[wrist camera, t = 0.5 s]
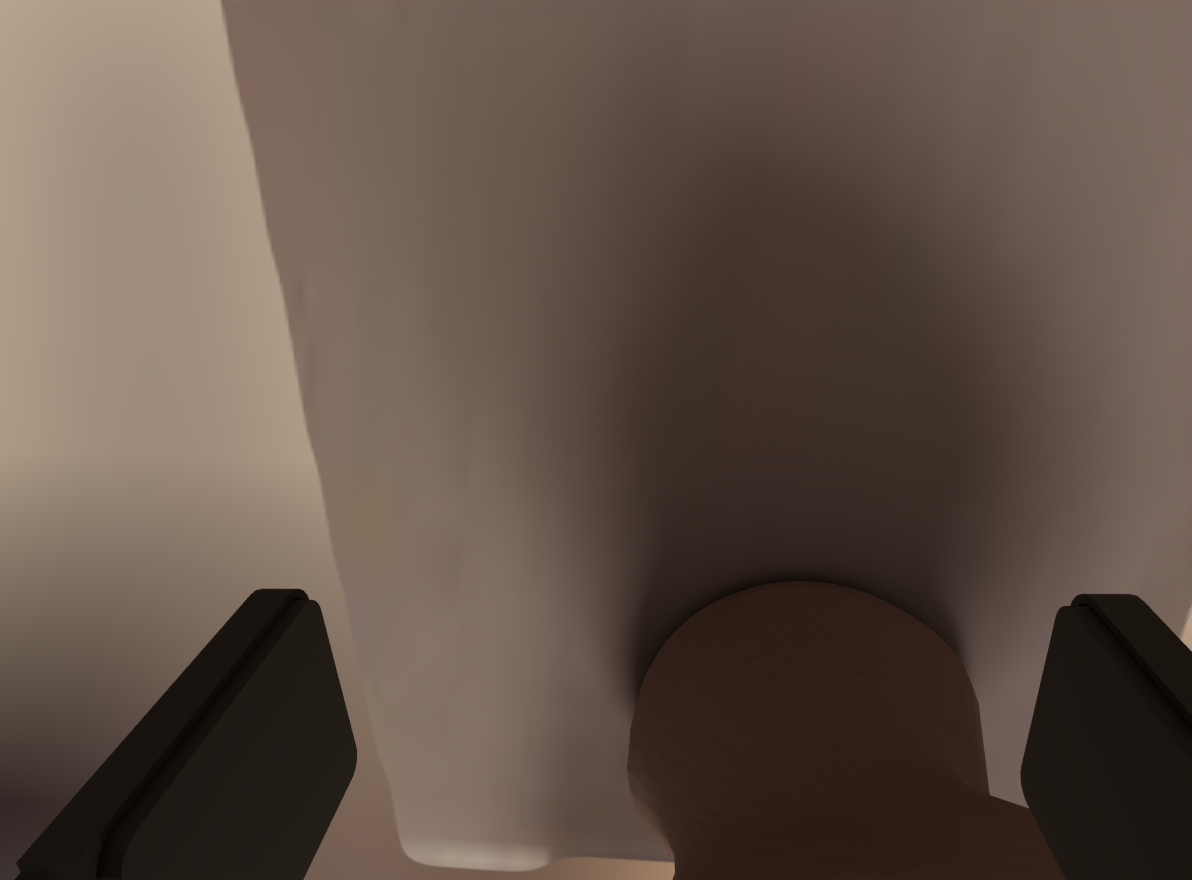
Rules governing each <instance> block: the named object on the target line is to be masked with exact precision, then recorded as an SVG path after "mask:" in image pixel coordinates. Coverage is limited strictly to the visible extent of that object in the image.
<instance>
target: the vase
mask: <svg viewBox="0 0 1192 880" xmlns="http://www.w3.org/2000/svg"><path fill="white" fill-rule="evenodd" d="M627 770H628V778H629V786H630V791H631V794H632V797H633V801H634V804H635V807H636V810H637V813H638V815H639V817H640V818H641V820H642V821H643V823H644V825H645V826H646V828H647V830H648V831H649V833H650V834H651V835H652V836H653V838H654V839H655V840H656V841H657V842H658V843H659V844H660V845H661V847H662V848H663V849H664V850H665V851H666V852H667V853H668V854H669V855H670V856H671V857H672V858H673V859H674V860H675V874H674V877H673V880H1066V879H1065V877H1064V875H1063V874H1062V872H1061V870H1060V868H1059V866H1058V864H1057V862H1056V860H1055V858H1054V856H1053V854H1052V852H1051V850H1050V848H1049V846H1048V844H1047V842H1046V840H1045V838H1044V836H1043V834H1042V832H1041V830H1040V828H1039V826H1038V824H1037V822H1036V820H1035V818H1034V816H1033V814H1032V812H1031V810H1030V809H1029V808H1026V807H1023V806H1020V805H1017V804H1014V803H1011V802H1008V801H1005V800H1002V799H999V798H996V797H993V796H990V794H989V786H988V778H987V770H986V761H985V753H984V745H983V737H982V728H981V720H980V712H979V704H978V701H977V698H976V695H975V692H974V689H973V686H972V683H971V681H970V679H969V677H968V675H967V673H966V670H965V668H964V666H963V665H962V663H961V661H960V660H959V658H958V657H957V655H956V654H955V652H954V651H953V650H952V649H951V648H950V647H949V646H948V645H947V644H946V643H945V642H944V641H943V640H942V639H941V637H940V636H939V635H937V634H936V633H935V632H934V631H932V630H931V629H930V628H929V627H927V626H926V625H925V624H923V623H922V622H921V621H919V620H918V619H916V618H915V617H913V616H912V615H910V614H908V613H907V612H905V611H904V610H902V609H900V608H898V607H896V606H894V605H892V604H890V603H888V602H887V601H885V600H882V599H880V598H878V597H875V596H873V595H871V594H869V593H866V592H863V591H860V590H856V589H853V588H849V587H845V586H842V585H837V584H831V583H825V582H816V581H785V582H777V583H769V584H763V585H759V586H755V587H752V588H749V589H746V590H743V591H740V592H737V593H734V594H732V595H729V596H726V597H724V598H722V599H720V600H718V601H716V602H713V603H711V604H709V605H708V606H706V607H705V608H703V609H702V610H700V611H699V612H697V613H696V614H694V615H693V616H692V617H691V618H689V619H688V620H687V621H686V622H685V623H684V624H683V625H682V626H681V627H679V628H678V629H677V630H676V631H675V632H674V633H673V635H672V636H671V637H670V638H669V639H668V640H667V641H666V642H665V643H664V645H663V646H662V648H661V649H660V651H659V652H658V654H657V656H656V657H655V659H654V661H653V663H652V664H651V666H650V668H649V670H648V671H647V673H646V675H645V677H644V680H643V684H642V687H641V690H640V694H639V697H638V700H637V704H636V708H635V713H634V717H633V721H632V725H631V729H630V745H629V755H628V765H627Z"/></svg>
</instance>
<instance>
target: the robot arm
mask: <svg viewBox="0 0 1192 880" xmlns="http://www.w3.org/2000/svg"><path fill="white" fill-rule="evenodd" d="M356 762H357V749H356V744H355V740H354V736H353V732H352V729H351V724H350V720H349V717H348V713H347V709H346V705H345V701H344V697H343V693H342V689H341V685H340V682H339V678H338V674H337V670H336V666H335V662H334V658H333V654H332V650H331V647H330V643H329V639H328V635H327V631H326V627H325V623H324V620H323V615H322V612H321V608H320V606H319V604H318V603H317V602H316V601H314V600H309V598H308V595H307V594H306V593H305V592H304V591H303V590H300V589H259V590H256V591H255V592H253V593H252V594H251V595H250V596H249V597H248V598H247V599H246V601H245V602H244V603H243V604H242V605H241V606H240V607H239V609H238V610H237V611H236V612H235V613H234V614H233V615H232V617H231V618H230V619H229V620H228V621H227V622H226V623H225V625H224V626H223V627H222V628H221V629H220V630H219V632H218V633H217V634H216V635H215V636H214V637H213V638H212V640H211V641H210V642H209V643H208V644H207V645H206V646H205V648H204V649H203V650H202V651H201V652H200V653H199V654H198V656H197V657H196V658H195V659H194V660H193V661H192V662H191V664H190V665H189V666H188V667H187V668H186V669H185V670H184V671H183V673H182V674H181V675H180V676H179V677H178V678H177V680H176V681H175V682H174V683H173V684H172V685H171V686H170V687H169V689H168V690H167V691H166V692H165V693H164V695H163V696H162V697H161V698H160V699H159V700H158V701H157V703H156V704H155V705H154V706H153V707H152V708H151V709H150V710H149V712H148V713H147V714H146V715H145V716H144V717H143V719H142V720H141V721H140V722H139V723H138V724H137V725H136V726H135V728H134V729H133V730H132V731H131V732H130V733H129V735H128V736H127V737H126V738H125V739H124V740H123V741H122V742H121V744H120V745H119V746H118V747H117V748H116V749H115V750H114V752H113V753H112V754H111V755H110V756H109V757H108V758H107V760H106V761H105V762H104V763H103V764H102V765H101V766H100V768H99V769H98V770H97V771H96V772H95V773H94V775H93V776H92V777H91V778H90V779H89V780H88V781H87V783H86V784H85V785H84V786H83V787H82V788H81V789H80V790H79V792H78V793H77V794H76V795H75V796H74V797H73V798H72V800H71V801H70V802H69V803H68V804H67V806H65V808H64V809H63V810H62V811H61V812H60V813H59V815H58V816H57V817H56V818H55V819H54V820H53V822H52V823H51V824H50V825H49V826H48V827H47V829H45V831H44V832H43V833H42V834H41V835H40V836H39V837H38V839H37V840H36V841H35V842H34V843H33V844H32V845H31V847H30V848H29V849H28V850H27V851H26V852H25V854H24V855H23V856H22V857H21V858H20V859H19V860H18V861H17V863H16V864H17V865H18V867H19V869H20V871H21V873H20V874H19V875H18V876H17V877H16V879H15V880H303V879H304V877H305V875H306V873H307V870H308V869H309V867H310V864H311V862H312V860H313V858H314V856H315V854H316V852H317V850H318V848H319V846H320V844H321V842H322V839H323V837H324V835H325V833H326V831H327V829H328V827H329V825H330V823H331V821H332V819H333V817H334V815H335V813H336V811H337V808H338V806H339V804H340V802H341V800H342V798H343V796H344V794H345V792H346V790H347V788H348V786H349V783H350V781H351V780H352V777H353V775H354V771H355V768H356ZM1020 774H1021V785H1022V790H1023V794H1024V797H1025V800H1026V802H1027V804H1028V806H1029V808H1030V810H1031V812H1032V814H1033V816H1034V818H1035V820H1036V822H1037V824H1038V826H1039V828H1040V830H1041V832H1042V834H1043V836H1044V838H1045V840H1046V842H1047V844H1048V846H1049V848H1050V850H1051V852H1052V854H1053V856H1054V858H1055V860H1056V862H1057V864H1058V866H1059V868H1060V870H1061V872H1062V874H1063V875H1064V877H1065V879H1066V880H1192V652H1191V651H1190V649H1189V648H1188V647H1187V646H1186V645H1185V644H1184V643H1183V642H1182V641H1181V640H1180V639H1179V638H1178V637H1177V636H1176V635H1175V634H1174V633H1173V632H1172V631H1171V629H1170V628H1169V627H1168V626H1167V625H1166V624H1165V623H1164V622H1163V621H1162V620H1161V619H1160V618H1159V617H1158V616H1157V615H1156V614H1155V613H1154V612H1153V611H1152V609H1151V608H1150V607H1149V606H1148V605H1147V604H1146V603H1145V602H1144V601H1143V600H1141V599H1140V598H1139V597H1138V596H1135V595H1131V594H1080V595H1077V596H1076V597H1075V598H1074V599H1073V601H1072V603H1071V606H1064V607H1061V608H1060V609H1059V610H1058V612H1057V615H1056V618H1055V622H1054V627H1053V631H1052V635H1051V640H1050V644H1049V648H1048V653H1047V657H1046V661H1045V666H1044V670H1043V674H1042V679H1041V683H1040V688H1039V692H1038V696H1037V701H1036V705H1035V709H1034V714H1033V718H1032V722H1031V727H1030V731H1029V735H1028V740H1027V744H1026V748H1025V753H1024V757H1023V761H1022V766H1021V773H1020Z"/></svg>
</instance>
